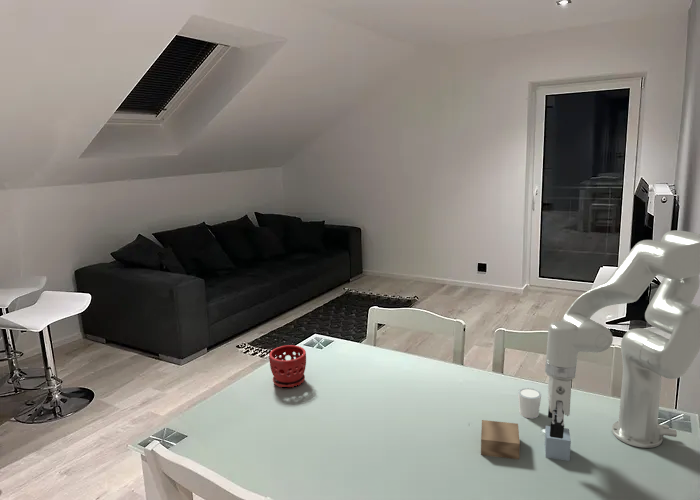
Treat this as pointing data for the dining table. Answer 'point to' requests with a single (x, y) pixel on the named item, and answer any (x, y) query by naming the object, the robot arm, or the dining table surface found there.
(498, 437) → the walnut block
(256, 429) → the dining table surface
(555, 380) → the robot arm
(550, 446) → the slate cube
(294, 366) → the plant pot
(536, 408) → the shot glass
